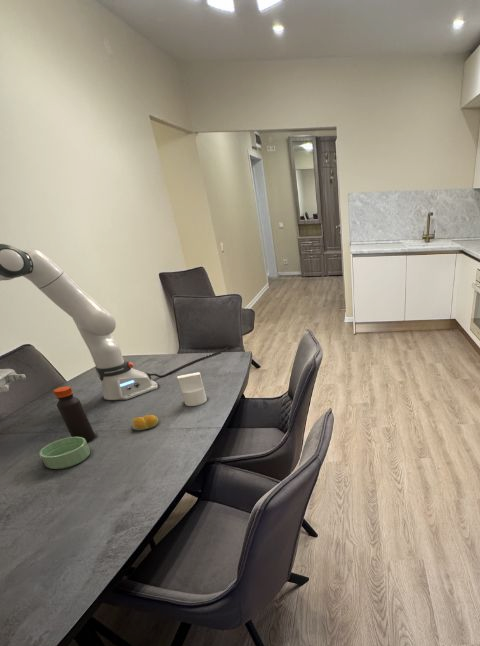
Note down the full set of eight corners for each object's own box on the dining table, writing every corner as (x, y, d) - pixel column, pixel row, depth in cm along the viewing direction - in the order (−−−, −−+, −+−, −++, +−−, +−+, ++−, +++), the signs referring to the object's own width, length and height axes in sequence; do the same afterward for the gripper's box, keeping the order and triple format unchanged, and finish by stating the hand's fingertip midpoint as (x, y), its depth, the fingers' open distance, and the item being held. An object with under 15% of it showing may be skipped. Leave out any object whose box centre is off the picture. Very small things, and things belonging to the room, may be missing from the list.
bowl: (86, 444, 139) (80, 432, 136) (95, 458, 131) (89, 445, 128) (43, 459, 131) (36, 447, 129) (50, 475, 123) (43, 461, 121)
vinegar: (78, 436, 145) (55, 386, 135) (98, 433, 146) (76, 384, 136) (71, 445, 139) (46, 394, 129) (91, 442, 140) (69, 391, 130)
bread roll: (160, 426, 149) (157, 416, 147) (135, 433, 145) (131, 423, 143) (157, 418, 155) (154, 409, 153) (132, 424, 151) (129, 415, 149)
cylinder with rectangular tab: (205, 395, 173) (199, 369, 167) (208, 402, 166) (201, 376, 160) (184, 399, 170) (176, 373, 164) (185, 407, 162) (177, 380, 156)
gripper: (-60, 390, 116) (-8, 385, 118) (-17, 367, 133) (28, 363, 136) (-48, 409, 119) (3, 404, 121) (-8, 384, 137) (36, 380, 139)
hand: (16, 382), depth 129 cm, fingers open, 8 cm apart
